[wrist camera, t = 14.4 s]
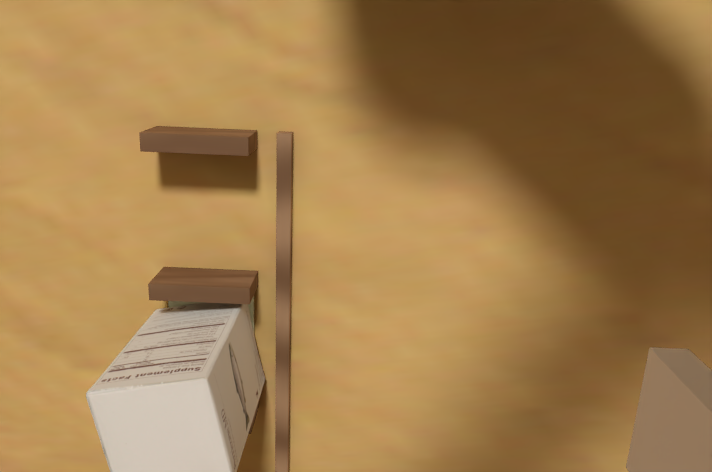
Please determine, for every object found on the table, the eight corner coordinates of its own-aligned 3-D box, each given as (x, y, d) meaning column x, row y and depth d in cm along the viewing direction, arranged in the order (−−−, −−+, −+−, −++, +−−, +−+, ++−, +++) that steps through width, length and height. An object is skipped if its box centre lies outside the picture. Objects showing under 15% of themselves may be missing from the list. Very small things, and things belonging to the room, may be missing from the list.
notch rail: (156, 126, 44) (139, 132, 40) (293, 131, 43) (287, 138, 40) (176, 512, 53) (163, 543, 50) (288, 516, 53) (283, 548, 50)
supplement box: (268, 379, 49) (236, 489, 37) (175, 391, 49) (114, 503, 37) (249, 292, 47) (209, 377, 35) (153, 305, 47) (80, 394, 35)
